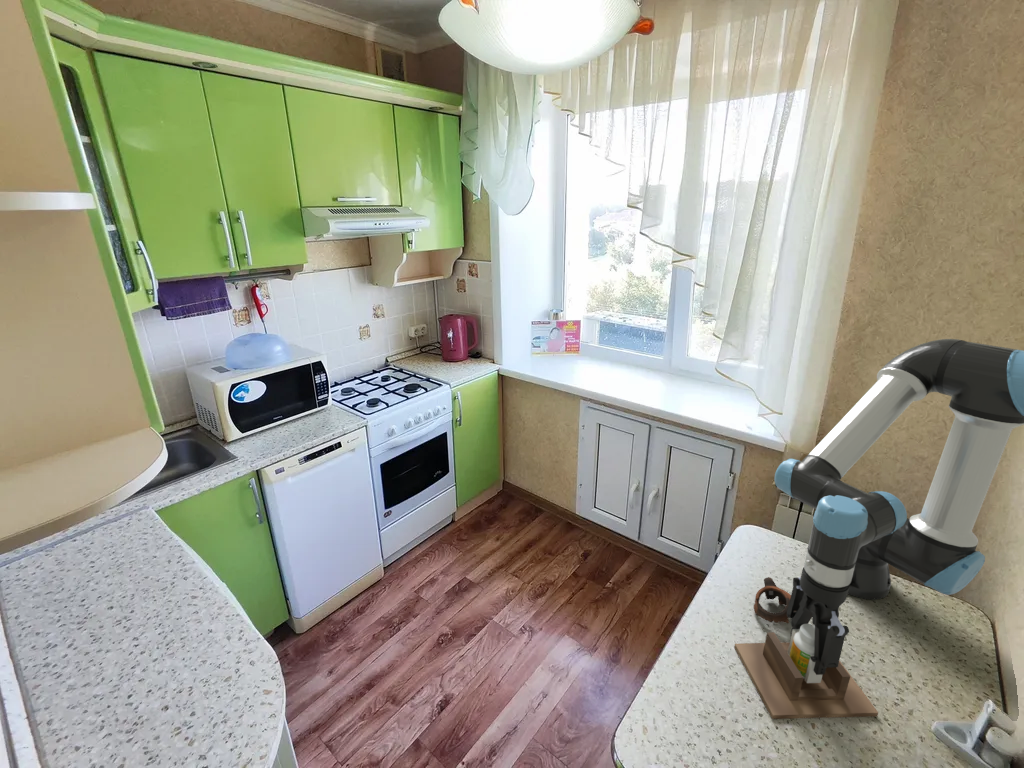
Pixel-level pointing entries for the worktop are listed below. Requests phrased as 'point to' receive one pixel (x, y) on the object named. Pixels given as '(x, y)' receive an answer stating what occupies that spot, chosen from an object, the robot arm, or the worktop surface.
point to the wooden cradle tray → (800, 685)
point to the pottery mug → (772, 593)
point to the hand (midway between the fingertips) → (803, 667)
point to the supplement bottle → (803, 647)
